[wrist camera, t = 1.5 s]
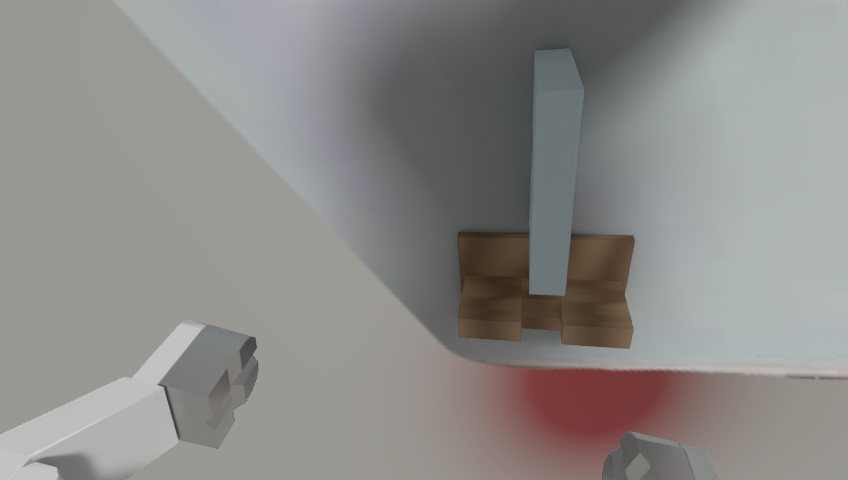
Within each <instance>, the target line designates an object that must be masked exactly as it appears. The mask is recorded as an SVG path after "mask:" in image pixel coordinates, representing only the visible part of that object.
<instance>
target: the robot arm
mask: <svg viewBox="0 0 848 480" xmlns="http://www.w3.org/2000/svg"><path fill="white" fill-rule="evenodd" d="M256 348H257V346H256V338H255V337H251V336H248V335H244V334H240V333H237V332H233V331H230V330H226V329H222V328H219V327H215V326H212V325H208V324H204V323H201V322H197V321H193V320H189V319H187V320H185V321H184V322H182V323H180V324H179V325H178V326H177V327H176V328H175V329H174V331H173V332H172V333H171V334H170V335H169V336H168V337H167V339H166V340H165V341H164V342H163V343H162V344H161V345H160V347H158V349H157V350H156V351H155V352H154V353H153V354H152V355H151V357H150V358H149V359H148V360H147V361H146V362H145V363H144V364H143V365H142V367H141V368H140V369H139V370H138V371H137V372H136V373H135V374H134V376H133V377H132V378H129V377H122V378H120V379H118V380H116V381H114V382H112V383H110V384H107V385H105V386H103V387H101V388H99V389H97V390H95V391H93V392H90V393H88V394H86V395H84V396H82V397H80V398H78V399H76V400H73V401H71V402H69V403H67V404H65V405H63V406H61V407H58V408H56V409H55V410H52V411H50V412H48V413H46V414H44V415H41V416H39V417H37V418H35V419H33V420H31V421H29V422H27V423H24V424H22V425H20V426H18V427H16V428H14V429H12V430H9V431H7V432H5V433H3V434H1V435H0V480H126V479H128V478H129V477H131V476H132V475H134V474H135V473H136V472H138V471H139V470H141V469H142V468H143V467H145V466H146V465H148V464H149V463H150V462H152V461H153V460H154V459H156V458H157V457H159V456H160V455H162V454H163V453H164V452H166V451H167V450H169V449H170V448H171V447H173V446H174V445H176V444H177V443H178V442H179V440H182V441H186V442H191V443H195V444H200V445H204V446H208V447H212V448H216V449H218V448H219V447H220V445H221V443H222V442H223V440H224V438H225V437H226V435H227V433H228V431H229V430H230V428H231V426H232V425H233V423H234V421H235V418H234V409H236V408H237V407H239V406H241V405H242V404H244V403H246V401H247V399H248V397H249V396H250V394H251V392H252V390H253V387H254V385H255V382H256V379H257V374H258V361H257V360H256V358H255V357H254V356H253V353H254V351H255V350H256ZM620 445H621V448H620V449H617V450H614V451H611V452H610V454H609V455H608V457H607V458H606V460H605V463H604V467H603V472H602V480H718V477H717V474H716V472H715V469H714V466H713V464H712V461H711V459H710V456H709V455H708V454H707V453H706V451H705V450H702V449H699V448H694V447H690V446H686V445H681V444H677V443H676V442H672V441H668V440H664V439H660V438H655V437H651V436H647V435H643V434H639V433H634V432H627V433H625V434H624V435H623V436H622V438H621V439H620Z"/></svg>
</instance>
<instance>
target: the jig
mask: <svg viewBox="0 0 848 480" xmlns="http://www.w3.org/2000/svg"><path fill="white" fill-rule="evenodd" d="M634 242H635V240H634V237H633V236H625V235H571V239H570V249H569V260H568V270H567V281H566V291H565V296H558V295H537V294H529V234H518V233H465V232H459V234H458V246H459V260H460V274H461V288H462V299H461V304H460V310H459V315H458V327H459V337H466V338H480V339H495V340H509V341H521V328H529V329H545V330H561V339H562V344H568V345H582V346H597V347H611V348H626V349H629V348H630V344H631V339H632V335H633V330H634V329H633V325H632V321H631V317H630V314H629V310H628V306H627V302H626V298H625V289H626V284H627V279H628V274H629V268H630V263H631V258H632V253H633V248H634Z"/></svg>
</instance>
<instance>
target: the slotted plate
mask: <svg viewBox="0 0 848 480" xmlns="http://www.w3.org/2000/svg"><path fill="white" fill-rule="evenodd" d="M584 91H585V90H584V87H583V84H582V81H581V78H580V75H579V72H578V69H577V66H576V63H575V61H574V58H573V55H572V52H571V49H570V48H565V49H550V50H535V59H534V89H533V119H532V135H533V146H532V163H531V180H530V210H529V294H537V295H558V296H565V291H566V281H567V270H568V260H569V249H570V239H571V228H572V218H573V207H574V197H575V186H576V175H577V165H578V154H579V144H580V133H581V123H582V112H583V102H584Z"/></svg>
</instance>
